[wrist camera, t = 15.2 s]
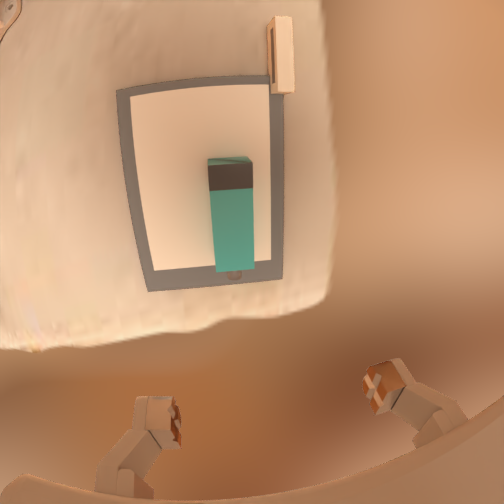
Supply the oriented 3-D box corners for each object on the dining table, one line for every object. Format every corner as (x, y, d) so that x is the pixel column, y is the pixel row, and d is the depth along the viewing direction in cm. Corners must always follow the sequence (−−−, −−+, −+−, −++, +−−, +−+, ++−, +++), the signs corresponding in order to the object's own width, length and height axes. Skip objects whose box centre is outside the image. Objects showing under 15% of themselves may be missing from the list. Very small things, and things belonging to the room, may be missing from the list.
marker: (207, 158, 28) (207, 165, 25) (247, 156, 29) (252, 162, 25) (216, 269, 34) (217, 288, 31) (249, 266, 35) (255, 285, 31)
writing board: (118, 91, 24) (115, 90, 23) (280, 76, 26) (282, 75, 25) (148, 288, 35) (147, 292, 34) (280, 275, 37) (282, 279, 36)
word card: (266, 26, 23) (274, 15, 20) (281, 27, 23) (292, 17, 20) (268, 94, 27) (277, 91, 23) (284, 94, 27) (295, 92, 24)
